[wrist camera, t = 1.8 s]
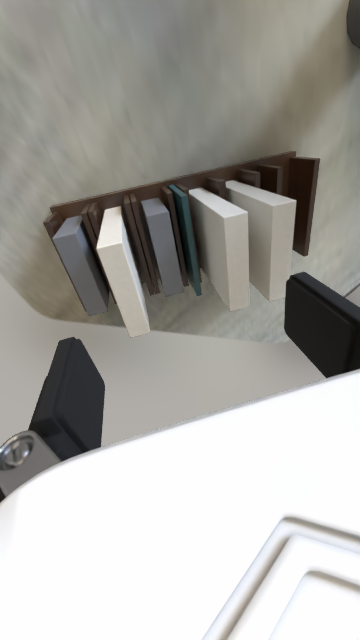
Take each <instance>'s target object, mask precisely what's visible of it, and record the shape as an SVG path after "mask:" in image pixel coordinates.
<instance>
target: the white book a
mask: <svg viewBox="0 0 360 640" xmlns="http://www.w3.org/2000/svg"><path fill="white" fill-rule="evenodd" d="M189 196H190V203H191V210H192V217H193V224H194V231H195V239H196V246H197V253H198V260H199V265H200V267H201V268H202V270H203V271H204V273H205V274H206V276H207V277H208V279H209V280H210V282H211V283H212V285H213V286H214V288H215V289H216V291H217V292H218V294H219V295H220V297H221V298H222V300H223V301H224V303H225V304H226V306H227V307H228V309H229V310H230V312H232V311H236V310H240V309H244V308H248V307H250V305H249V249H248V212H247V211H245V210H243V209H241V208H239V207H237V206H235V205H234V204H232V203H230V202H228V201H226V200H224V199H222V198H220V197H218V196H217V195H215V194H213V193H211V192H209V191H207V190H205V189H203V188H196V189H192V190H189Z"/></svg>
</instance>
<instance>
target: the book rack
mask: <svg viewBox="0 0 360 640" xmlns="http://www.w3.org/2000/svg"><path fill="white" fill-rule="evenodd" d="M319 163H320V158H307V157H296V151H290V152H286V153H282V154H277V155H273V156H268V157H264V158H260V159H255V160H251V161H247V162H242V163H238V164H233V165H229V166H225V167H220V168H216V169H211V170H207V171H203V172H198V173H194V174H190V175H185V176H181V177H176V178H172V179H168V180H163V181H159V182H155V183H150V184H146V185H141V186H137V187H133V188H128V189H124V190H120V191H115V192H111V193H106V194H102V195H98V196H93V197H89V198H85V199H80V200H76V201H71V202H67V203H63V204H58V205H54V206H51V207H50V210H51V212H52V214H51V215H50V216H49V217H48V218H47V219H46V220H45V221H44V222H43V224H44V226H45V228H46V230H47V232H48V234H49V236H50V238H51V240H52V238H53V237H54V236H55V234H56V233H57V231H58V230H59V229H60V227H61V226H62V224H63V223H64V222H65V220H66V219H67V218H71V217H76V216H80V215H81V217H82V219H83V222H84V224H85V227H86V230H87V232H88V235H89V237H90V240H91V242H92V245H93V248H94V250H95V253H96V255H97V258H98V261H99V263H100V266H101V268H102V271H103V273H104V276H105V279H106V281H107V284H108V286H109V291H110V292H111V294H112V297H113V299H114V302H115V304H117V302H116V299H115V297H114V294H113V292H112V289H111V286H110V284H109V281H108V278H107V276H106V273H105V271H104V268H103V265H102V263H101V260H100V257H99V255H98V252H97V250H96V247H97V243H98V238H99V234H100V230H101V225H102V221H103V216H104V212H105V210H106V209H110V208H115V207H119V206H121V207H122V211H123V214H124V218H125V221H126V224H127V228H128V231H129V235H130V238H131V242H132V245H133V248H134V252H135V255H136V259H137V262H138V266H139V269H140V272H141V278H142V283H145V282H146V283H147V286H148V290H149V293H150V295H154V294H157V293H160V291H159V287H158V283H157V279H160V276H159V273H158V269H157V265H156V261H155V257H154V253H153V249H152V245H151V241H150V237H149V233H148V229H147V225H146V221H145V217H144V213H143V209H142V205H141V201H145V200H149V199H153V198H157V197H158V198H159V199H160V200H161V202H162V203H163V204H164V206H165V207H166V209H167V210H168V211H169V216H170V221H171V226H172V231H173V237H174V242H175V247H176V252H177V258H178V263H179V268H180V273H181V278H182V282H183V284H184V286H189V283H188V279H189V281H190V283H191V285H192V287H193V289H194V291H195V293H196V295H197V296H200V295H202V293H201V286H200V283H201V282H202V281H201V274H200V269H201V267H200V265H199V260H198V253H197V246H196V239H195V231H194V224H193V217H192V210H191V203H190V196H189V190H192V189H196V188H203V189H205V190H207V191H209V192H211V193H213V194H215V195H217V196H218V197H220V198H222V199H224V200H226V201H227V196H226V182H227V181H231V180H234V181H237V182H240V183H243V184H246V185H250V186H253V187H256V188H259V189H262V190H265V191H268V192H272V193H275V194H278V195H281V196H284V197H287V198H290V199H293V200H296V211H295V223H294V234H293V246H292V250H294V251H296V252H297V253H299V254H301V255H302V256H308V250H309V242H310V234H311V226H312V218H313V210H314V202H315V195H316V187H317V179H318V171H319ZM52 242H53V240H52ZM53 245H54V247H55V249H56V251H57V253H58V255H59V257H60V259H61V261H62V258H61V256H60V254H59V252H58V250H57V248H56V246H55V244H54V242H53ZM62 263H63V261H62ZM63 265H64V263H63ZM64 268H65V270H66V272H67V274H68V276H69V278H70V280H71V277H70V275H69V273H68V271H67V269H66V267H65V265H64ZM71 282H72V280H71ZM152 283H153V285H152ZM72 284H73V282H72ZM73 286H74V284H73ZM153 287H154V289H153ZM74 288H75V286H74ZM75 290H76V288H75ZM154 290H155V293H154ZM76 293H77V295H78V297H79V299H80V301H81V298H80V296H79V294H78V292H77V290H76ZM81 303H82V301H81ZM82 305H83V303H82ZM83 307H84V305H83ZM84 309H85V307H84ZM85 311H86V309H85Z"/></svg>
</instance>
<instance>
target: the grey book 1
mask: <svg viewBox="0 0 360 640" xmlns="http://www.w3.org/2000/svg"><path fill="white" fill-rule="evenodd" d="M52 240H53V242H54V244H55V246H56V248H57V250H58V252H59V254H60V256H61V258H62V261H63V263H64V265H65V267H66V269H67V271H68V273H69V275H70V277H71V280H72V282H73V284H74V286H75V288H76V290H77V292H78V294H79V296H80V298H81V301H82V303H83V305H84V307H85V309H86V311H87V313H88V315H89V316H92V315H96V314H100V313H103V312H107V311H108V301H109V286H108V284H107V281H106V279H105V276H104V273H103V271H102V268H101V266H100V263H99V261H98V258H97V255H96V253H95V250H94V248H93V245H92V242H91V240H90V237H89V235H88V232H87V230H86V227H85V224H84V222H83V219H82V217H81V215H80V216H76V217H71V218H67V219H66V220H65V222H64V223H63V224H62V226H61V227H60V229H59V230H58V231H57V233H56V234H55V236H54V237H53V238H52Z"/></svg>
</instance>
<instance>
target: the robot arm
mask: <svg viewBox="0 0 360 640" xmlns="http://www.w3.org/2000/svg"><path fill="white" fill-rule="evenodd" d="M284 329H285V332H286V334H287V335H288V337H289V338H290V339H291V340H292V341H293V342H294V343H295V344H296V345H297V346H298V347H299V349H300V350H301V351H302V352H303V353H304V354H305V355H306V356H307V357H308V359H309V360H310V361H311V362H312V363H313V364H314V365H315V366H316V367H317V368H318V370H319V371H320V372H321V373H322V374H323V375H324V376H325V377H326V379H323V380H319V381H316V382H313V383H309V384H306V385H302V386H299V387H296V388H292V389H289V390H285V391H282V392H279V393H275V394H272V395H269V396H265V397H262V398H258V399H255V400H252V401H249V402H245V403H242V404H239V405H235V406H232V407H229V408H225V409H222V410H219V411H215V412H212V413H209V414H205V415H203V416H199V417H196V418H192V419H189V420H186V421H183V422H179V423H176V424H173V425H169V426H166V427H163V428H160V429H157V430H153V431H150V432H147V433H144V434H140V435H137V436H134V437H131V438H128V439H124V440H121V441H118V442H115V443H112V444H109V445H106V446H103V447H101V437H102V423H103V422H102V421H103V408H104V394H105V385H104V381H103V379H102V377H101V375H100V374H99V372H98V370H97V368H96V367H95V365H94V363H93V361H92V359H91V358H90V356H89V354H88V352H87V351H86V349H85V347H84V345H83V343H82V341H81V340H80V339H75V338H74V337H71V338H67V339H64V340H60V341H59V343H58V346H57V349H56V352H55V355H54V358H53V361H52V364H51V367H50V370H49V373H48V376H47V377H46V379H45V381H44V384H43V387H42V390H41V393H40V396H39V399H38V402H37V405H36V408H35V411H34V414H33V417H32V420H31V423H30V426H29V429H28V430H27V431H23V432H20V433H18V434H16V435H14V436H12V437H11V438H9V439H8V440H7V441H6V442H5V443H4V444H3V445H2V446H1V447H0V640H360V307H358V306H356V305H355V304H353V303H352V302H350V301H349V300H347V299H346V298H344V297H343V296H341V295H340V294H338V293H336V292H335V291H333V290H332V289H330V288H329V287H327V286H326V285H324V284H323V283H321V282H320V281H318V280H316V279H315V278H313V277H312V276H310V275H309V274H307V273H305V272H301V273H298V274H294V275H291V276H290V277H289V279H288V280H287V281H286V294H285V322H284Z"/></svg>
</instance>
